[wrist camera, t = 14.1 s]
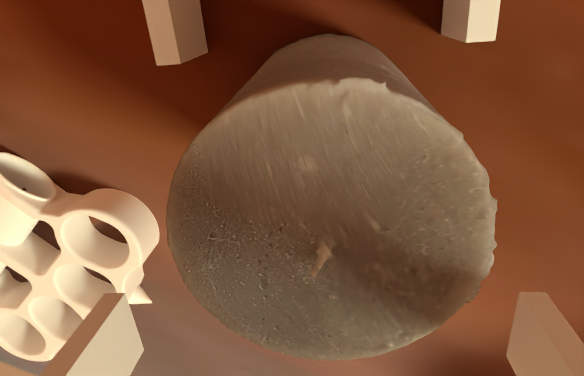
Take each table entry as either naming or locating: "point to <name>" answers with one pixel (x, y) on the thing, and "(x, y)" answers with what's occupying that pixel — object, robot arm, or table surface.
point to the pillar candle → (331, 207)
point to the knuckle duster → (63, 257)
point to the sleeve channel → (192, 42)
